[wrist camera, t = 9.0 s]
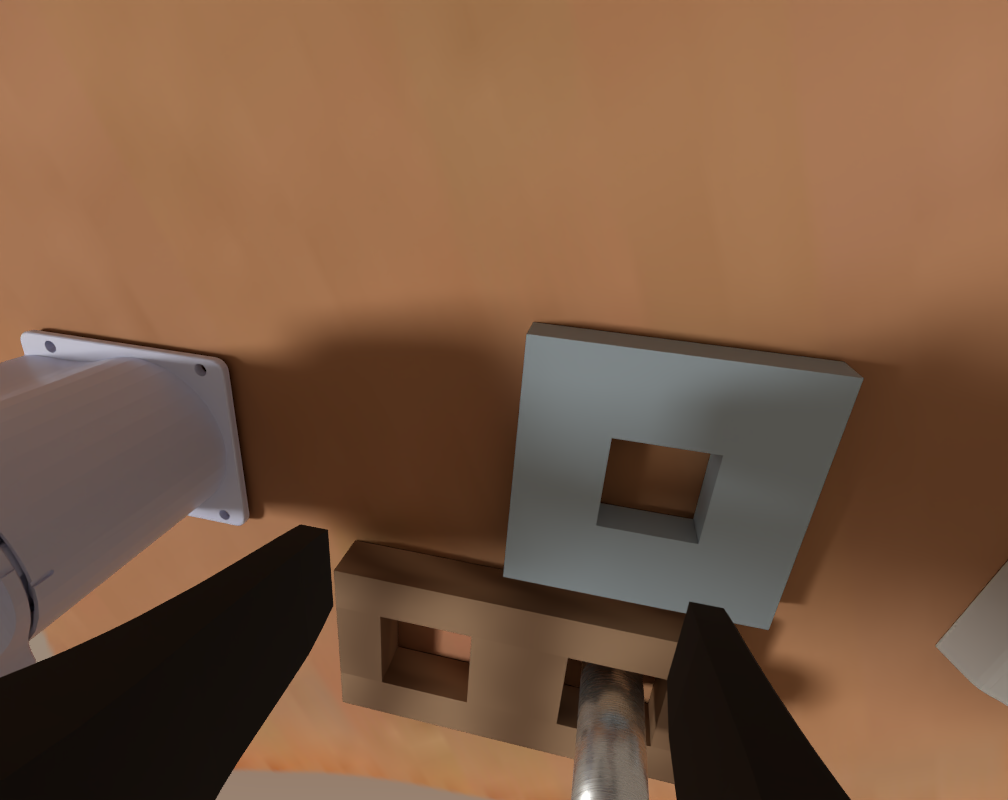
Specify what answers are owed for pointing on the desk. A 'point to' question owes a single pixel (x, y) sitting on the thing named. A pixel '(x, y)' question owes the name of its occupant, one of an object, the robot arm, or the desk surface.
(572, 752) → the rack
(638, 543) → the socket block
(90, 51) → the desk surface
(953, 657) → the grey arched plastic casing
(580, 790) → the peg
